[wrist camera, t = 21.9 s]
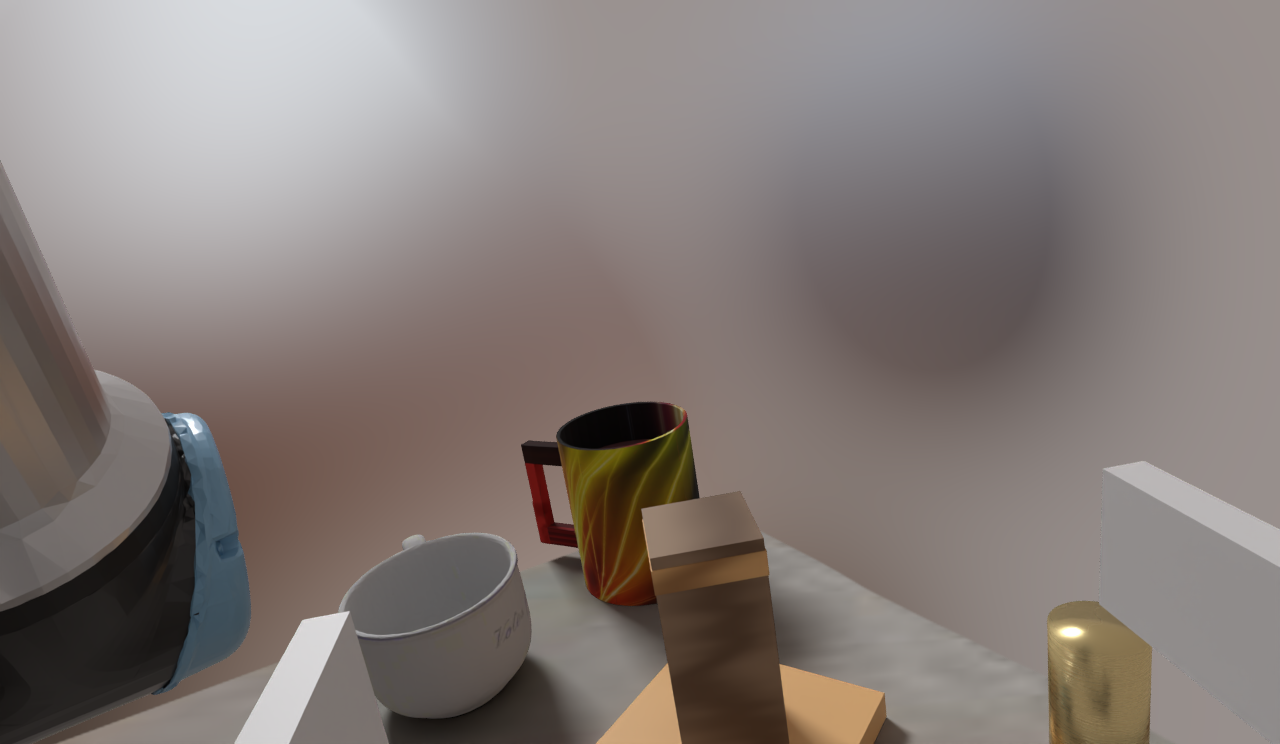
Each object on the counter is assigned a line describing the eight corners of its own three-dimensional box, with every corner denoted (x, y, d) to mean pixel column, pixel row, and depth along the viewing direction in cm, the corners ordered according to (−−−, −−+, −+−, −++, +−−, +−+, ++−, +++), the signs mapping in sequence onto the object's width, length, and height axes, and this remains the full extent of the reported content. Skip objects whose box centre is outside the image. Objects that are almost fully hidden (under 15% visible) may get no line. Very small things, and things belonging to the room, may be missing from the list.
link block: (687, 784, 36) (648, 559, 32) (674, 710, 41) (640, 508, 37) (793, 764, 36) (764, 538, 33) (767, 692, 41) (741, 490, 38)
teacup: (552, 714, 44) (525, 594, 42) (360, 773, 42) (322, 650, 40) (526, 595, 57) (505, 499, 55) (380, 635, 55) (352, 537, 53)
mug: (545, 549, 64) (517, 416, 61) (708, 532, 62) (688, 395, 59) (519, 617, 54) (484, 464, 51) (710, 599, 53) (685, 440, 50)
